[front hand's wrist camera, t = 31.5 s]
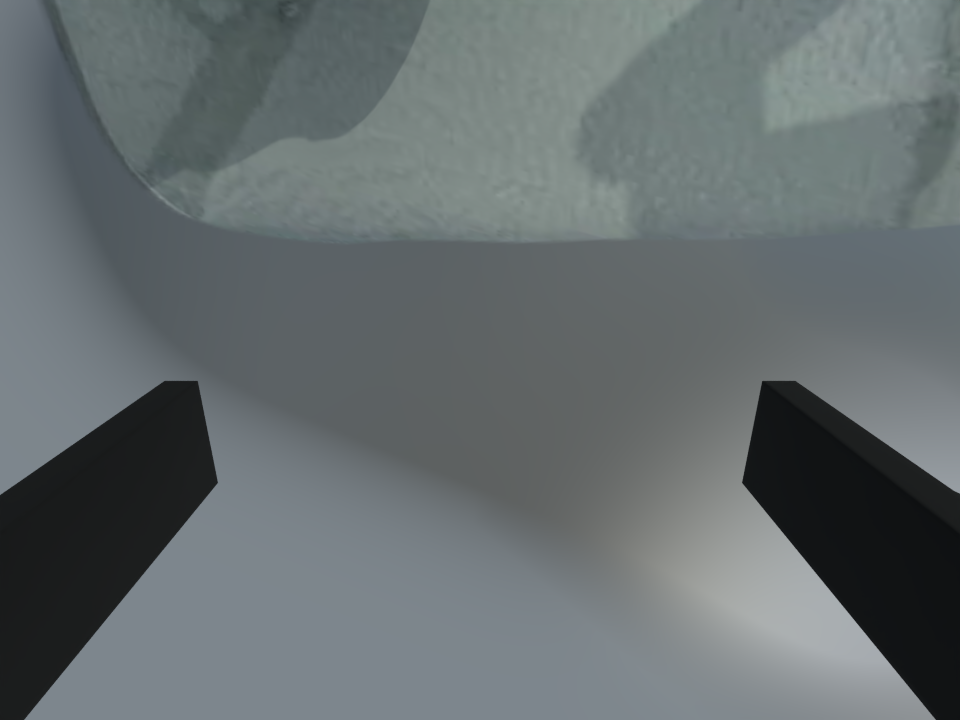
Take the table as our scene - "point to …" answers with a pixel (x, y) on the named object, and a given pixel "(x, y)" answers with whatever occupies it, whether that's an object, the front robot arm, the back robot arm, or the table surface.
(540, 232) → the table surface
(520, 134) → the table surface
